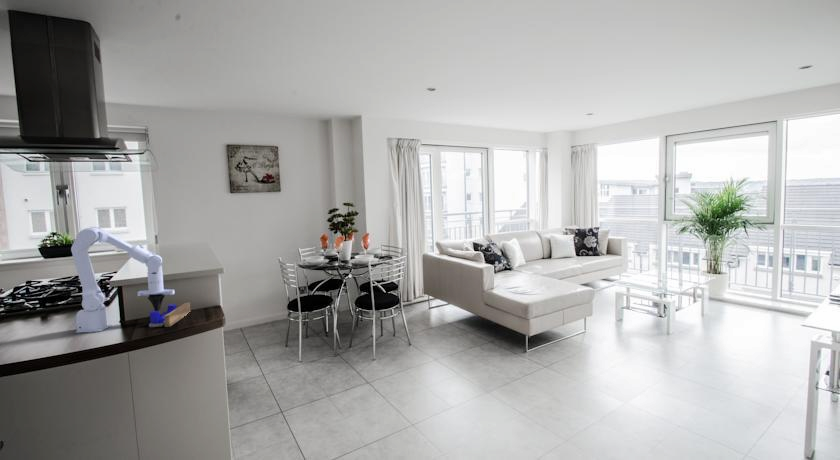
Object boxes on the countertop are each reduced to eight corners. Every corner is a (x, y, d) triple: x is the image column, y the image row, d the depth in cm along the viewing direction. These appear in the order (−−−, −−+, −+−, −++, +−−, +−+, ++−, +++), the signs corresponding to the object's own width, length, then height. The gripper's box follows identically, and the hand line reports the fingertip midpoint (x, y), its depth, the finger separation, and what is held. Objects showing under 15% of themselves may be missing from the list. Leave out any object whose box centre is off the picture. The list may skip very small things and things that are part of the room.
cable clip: (168, 317, 181) (167, 304, 181) (177, 317, 181) (176, 304, 180) (147, 325, 169) (146, 312, 169) (157, 325, 169) (156, 312, 168)
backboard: (165, 327, 166) (164, 315, 166) (186, 312, 187) (185, 302, 187) (170, 326, 167) (169, 315, 166) (190, 312, 187) (189, 302, 187)
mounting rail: (149, 327, 167) (148, 322, 166) (169, 314, 185) (169, 310, 184) (166, 326, 168) (166, 321, 168) (185, 313, 186) (184, 309, 186)
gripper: (177, 278, 179) (178, 307, 180) (142, 280, 177) (144, 308, 178) (169, 282, 172) (171, 311, 173) (134, 283, 170) (136, 313, 171)
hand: (157, 310), depth 175 cm, fingers closed
